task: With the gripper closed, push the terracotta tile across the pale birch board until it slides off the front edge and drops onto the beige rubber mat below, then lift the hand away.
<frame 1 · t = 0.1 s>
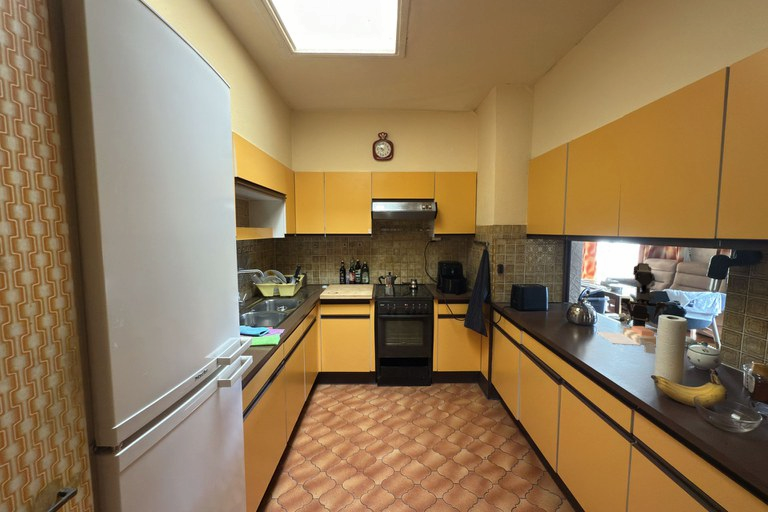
hand: (642, 319, 159), 15 cm above the worktop, tool tilted 30°, fingers open, 9 cm apart
tile: (642, 333, 168), point 4 cm above the worktop, touching board
lighter: (645, 352, 153), on the worktop
board: (639, 339, 169), on the worktop
mat: (617, 338, 171), on the worktop
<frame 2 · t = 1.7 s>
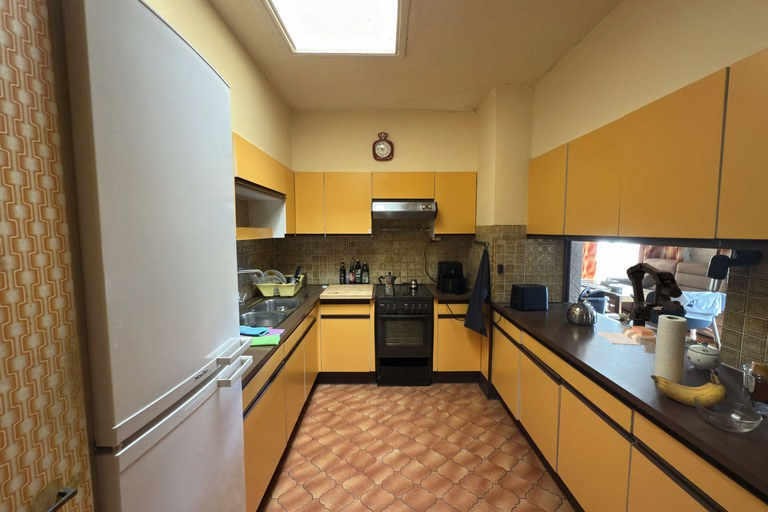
hand: (659, 321, 166), 11 cm above the worktop, tool pointing down, fingers closed
nothing on the worktop moved.
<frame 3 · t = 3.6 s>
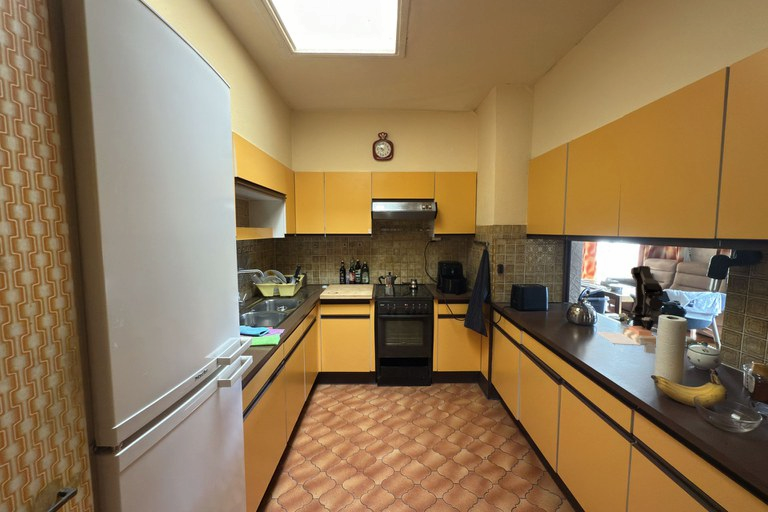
hand: (648, 331, 168), 5 cm above the worktop, tool pointing down, fingers closed
tile: (639, 332, 169), point 4 cm above the worktop, touching board, gripper
everything else where it was.
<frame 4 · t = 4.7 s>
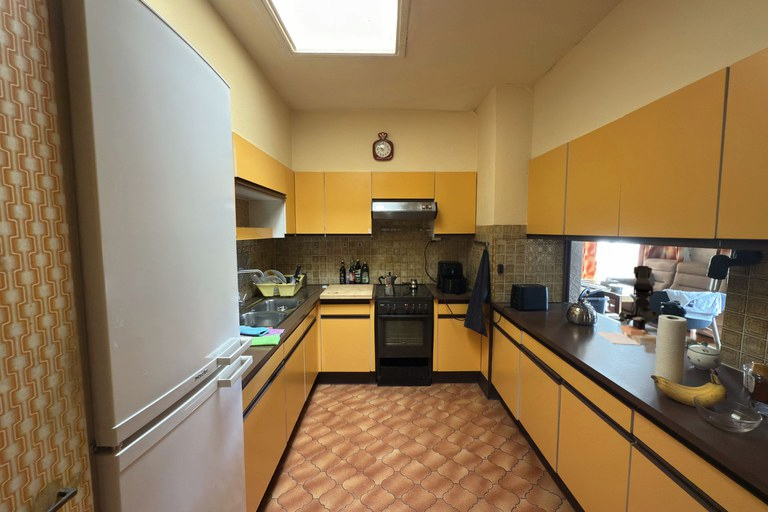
hand: (639, 331, 169), 5 cm above the worktop, tool pointing down, fingers closed
tile: (631, 332, 169), point 4 cm above the worktop, touching board, gripper
everything else where it was.
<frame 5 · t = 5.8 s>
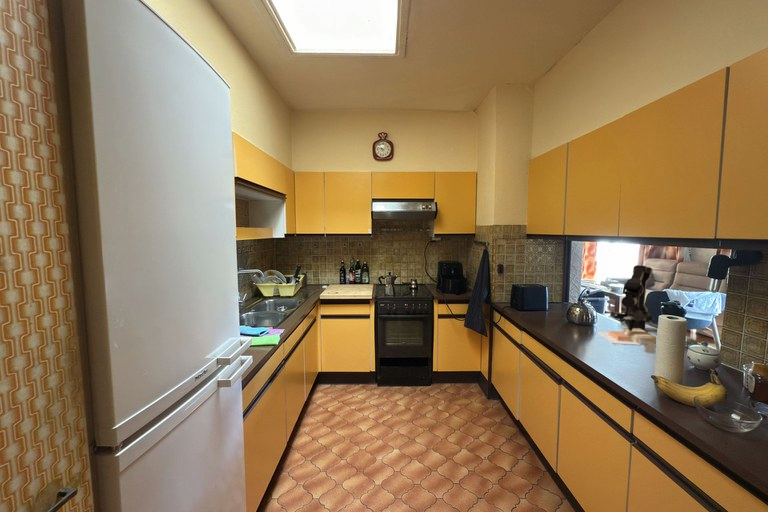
hand: (630, 330, 169), 5 cm above the worktop, tool pointing down, fingers closed
tile: (619, 333, 171), point 3 cm above the worktop, tilted 180°, touching mat
everything else where it was.
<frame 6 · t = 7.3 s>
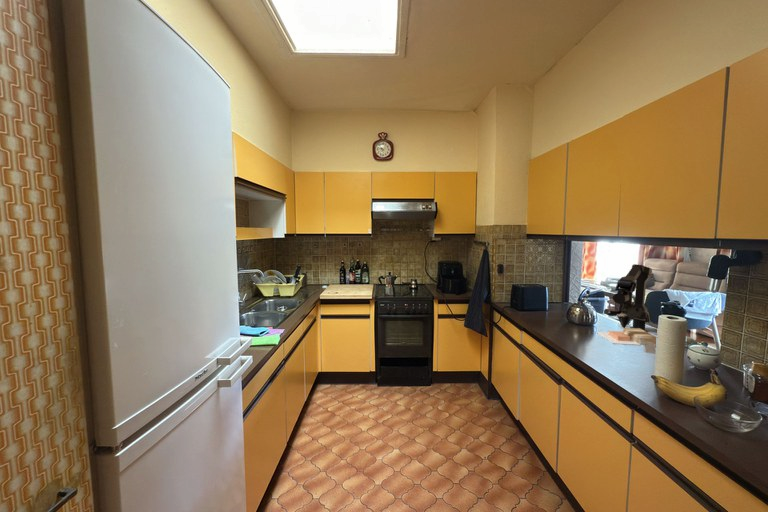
hand: (623, 327, 170), 7 cm above the worktop, tool pointing down, fingers closed
nothing on the worktop moved.
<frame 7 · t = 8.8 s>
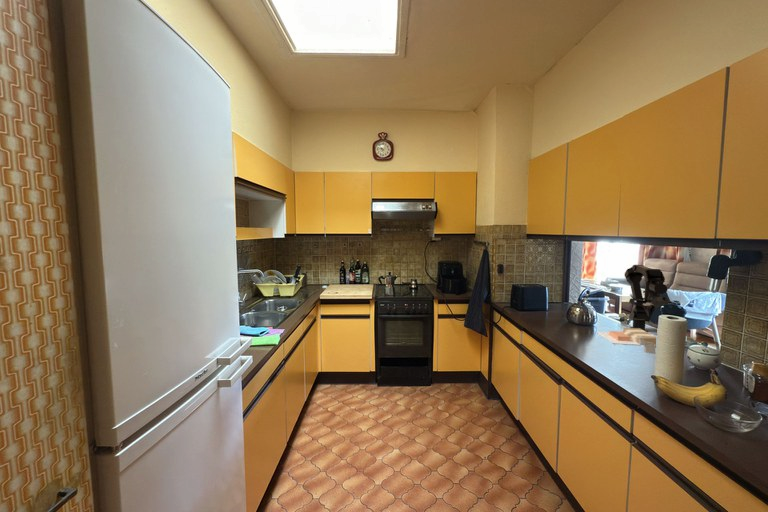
hand: (649, 316, 172), 12 cm above the worktop, tool pointing down, fingers closed
nothing on the worktop moved.
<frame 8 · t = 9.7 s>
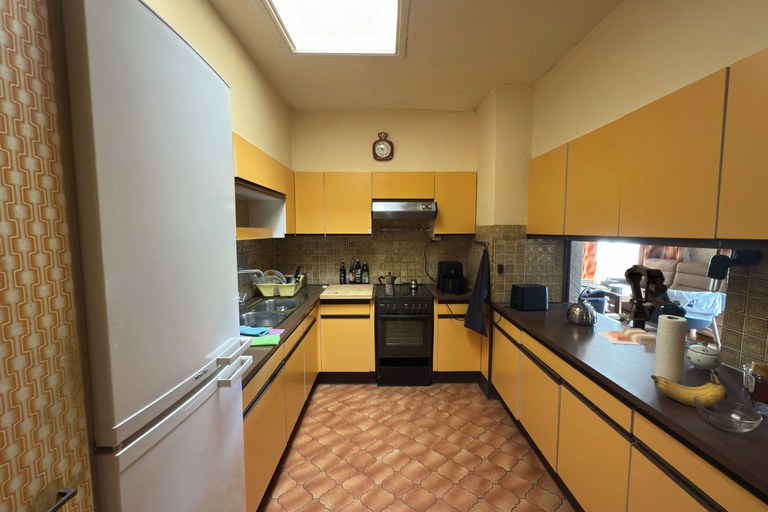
hand: (649, 316, 172), 12 cm above the worktop, tool pointing down, fingers closed
nothing on the worktop moved.
at the end: tile inside the target area (0.9 cm from its centre), point 2.9 cm above the worktop; tile touching mat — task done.
